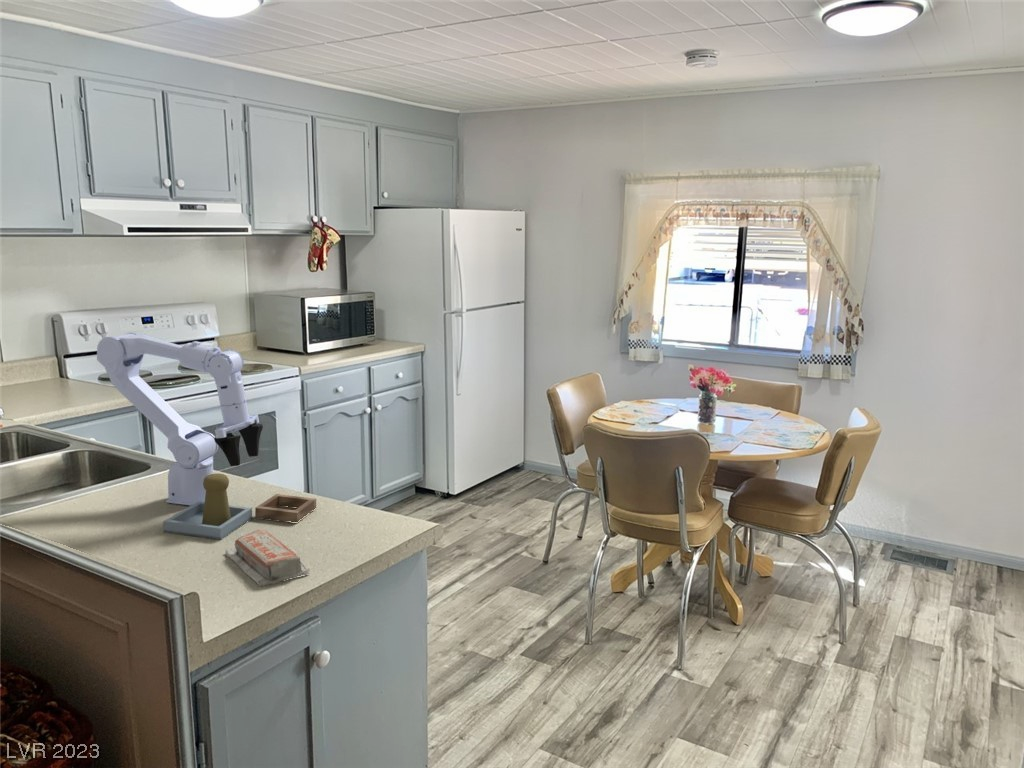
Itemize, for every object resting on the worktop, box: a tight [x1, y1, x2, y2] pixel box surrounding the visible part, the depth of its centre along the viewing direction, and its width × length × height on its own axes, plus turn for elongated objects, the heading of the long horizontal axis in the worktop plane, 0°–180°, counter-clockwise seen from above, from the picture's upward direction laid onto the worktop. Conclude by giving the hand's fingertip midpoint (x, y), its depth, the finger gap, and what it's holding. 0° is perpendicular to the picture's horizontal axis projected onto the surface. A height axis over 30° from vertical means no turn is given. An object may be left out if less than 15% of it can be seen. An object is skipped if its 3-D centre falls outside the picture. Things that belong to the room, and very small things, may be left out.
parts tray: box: [163, 501, 253, 541], centre depth 170 cm, size 13×13×2 cm
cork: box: [202, 473, 231, 526], centre depth 169 cm, size 6×6×11 cm
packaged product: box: [224, 529, 310, 588], centre depth 153 cm, size 18×5×10 cm
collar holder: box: [254, 493, 317, 522], centre depth 180 cm, size 10×10×2 cm
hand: (244, 460), depth 182 cm, fingers open, 7 cm apart
